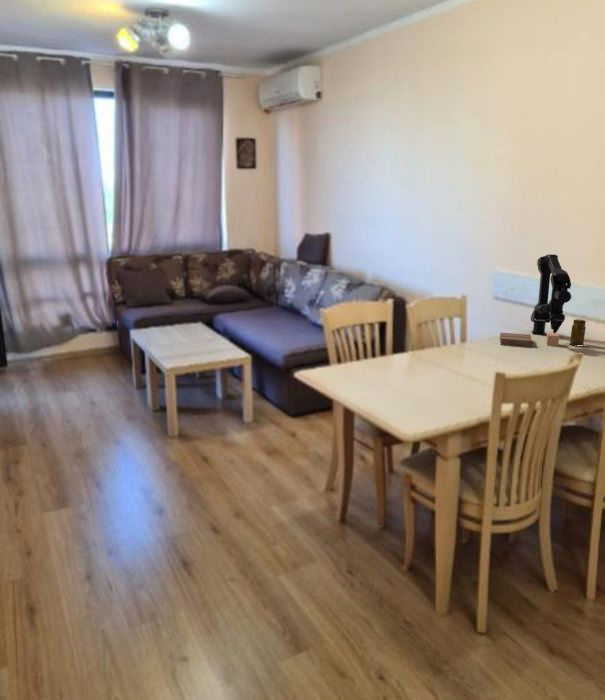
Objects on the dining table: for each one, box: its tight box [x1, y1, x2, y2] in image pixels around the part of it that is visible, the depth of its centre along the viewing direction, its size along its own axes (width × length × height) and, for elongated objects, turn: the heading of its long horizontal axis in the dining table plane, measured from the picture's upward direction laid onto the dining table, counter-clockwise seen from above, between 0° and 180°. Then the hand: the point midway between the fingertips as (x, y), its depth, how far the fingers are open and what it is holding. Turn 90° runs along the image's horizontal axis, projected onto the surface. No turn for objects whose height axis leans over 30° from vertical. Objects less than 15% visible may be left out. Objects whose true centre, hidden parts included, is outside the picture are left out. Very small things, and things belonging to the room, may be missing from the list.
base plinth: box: [499, 332, 533, 348], centre depth 294 cm, size 14×14×3 cm
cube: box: [545, 332, 560, 347], centre depth 291 cm, size 5×5×5 cm
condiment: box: [569, 318, 587, 348], centre depth 290 cm, size 7×8×12 cm
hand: (553, 331), depth 290 cm, fingers open, 9 cm apart
